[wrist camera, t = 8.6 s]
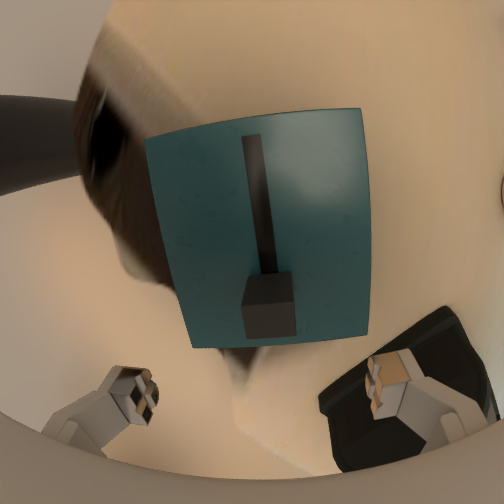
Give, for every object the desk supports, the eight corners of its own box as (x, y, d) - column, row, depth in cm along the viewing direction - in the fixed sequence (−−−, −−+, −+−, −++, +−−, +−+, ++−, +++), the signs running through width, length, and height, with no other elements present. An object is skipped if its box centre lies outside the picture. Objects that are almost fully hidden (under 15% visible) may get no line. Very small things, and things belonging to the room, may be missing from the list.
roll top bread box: (524, 399, 9) (523, 453, 13) (444, 297, 22) (483, 382, 26) (316, 513, 14) (404, 523, 18) (310, 393, 27) (388, 446, 31)
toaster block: (207, 309, 25) (189, 352, 19) (173, 138, 20) (137, 135, 14) (353, 296, 23) (371, 339, 17) (342, 115, 18) (366, 102, 12)
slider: (252, 305, 17) (246, 340, 14) (247, 275, 16) (239, 306, 13) (294, 301, 17) (296, 336, 13) (291, 270, 16) (294, 301, 13)
